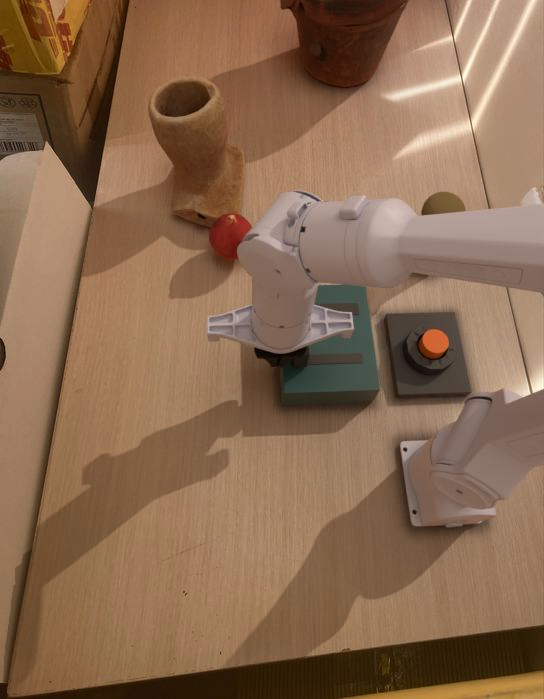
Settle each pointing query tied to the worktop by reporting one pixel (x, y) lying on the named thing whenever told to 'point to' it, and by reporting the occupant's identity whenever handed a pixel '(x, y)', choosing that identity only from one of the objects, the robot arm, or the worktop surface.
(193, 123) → the tan hollow curved piece
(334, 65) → the brown plant pot
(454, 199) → the olive pawn
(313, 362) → the green slider box
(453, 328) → the block
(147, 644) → the worktop surface
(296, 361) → the slider knob
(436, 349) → the button
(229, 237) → the onion
